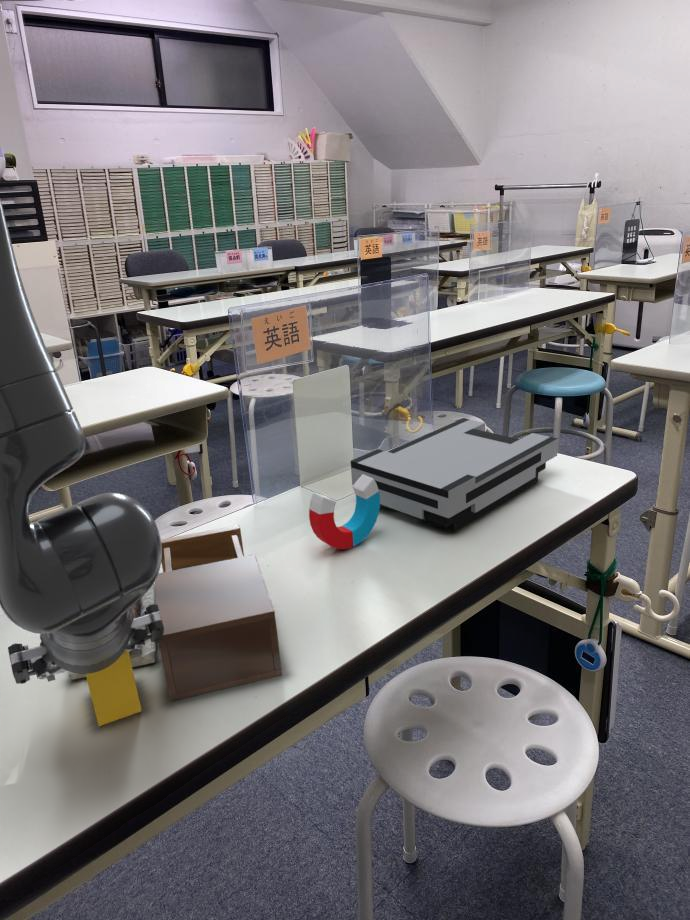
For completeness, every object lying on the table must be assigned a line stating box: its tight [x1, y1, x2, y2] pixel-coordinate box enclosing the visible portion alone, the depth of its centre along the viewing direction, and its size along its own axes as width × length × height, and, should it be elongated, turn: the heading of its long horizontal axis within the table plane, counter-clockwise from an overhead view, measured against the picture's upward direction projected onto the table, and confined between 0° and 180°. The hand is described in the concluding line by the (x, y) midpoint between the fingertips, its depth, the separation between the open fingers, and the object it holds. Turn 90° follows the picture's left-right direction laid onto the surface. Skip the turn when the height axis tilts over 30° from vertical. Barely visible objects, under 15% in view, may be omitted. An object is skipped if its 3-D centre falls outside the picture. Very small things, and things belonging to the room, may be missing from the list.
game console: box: [350, 417, 559, 534], centre depth 121 cm, size 21×32×8 cm, turn 134°
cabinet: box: [154, 554, 283, 702], centre depth 81 cm, size 14×13×9 cm
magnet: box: [308, 474, 381, 550], centre depth 104 cm, size 12×3×10 cm, turn 128°
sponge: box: [85, 652, 142, 727], centre depth 74 cm, size 4×5×9 cm
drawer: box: [161, 525, 245, 573], centre depth 94 cm, size 17×11×7 cm
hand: (91, 658), depth 73 cm, fingers open, 8 cm apart
